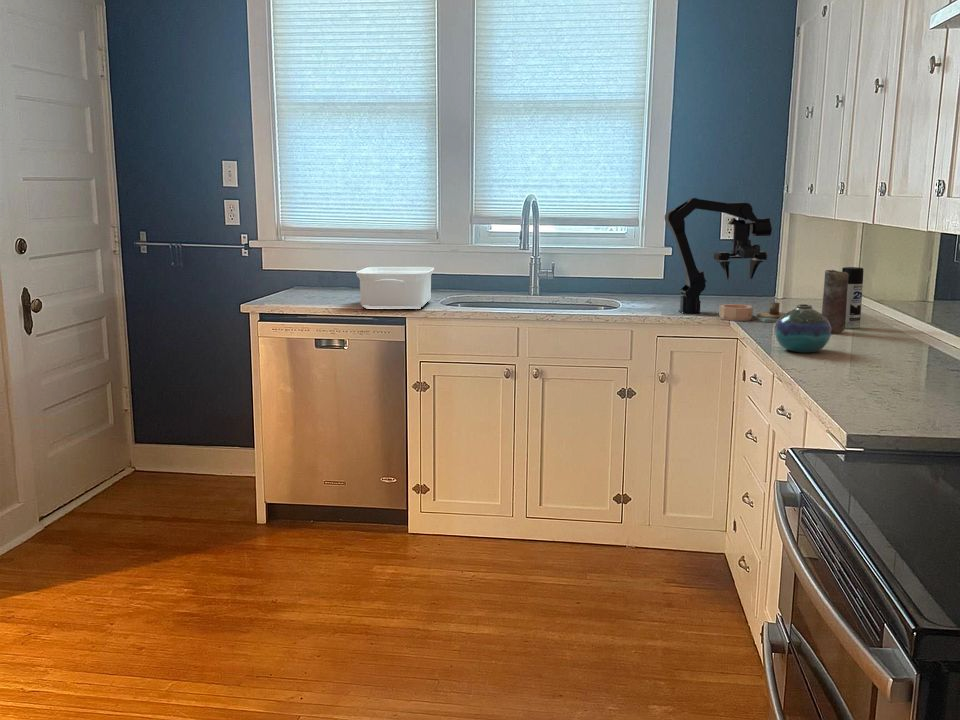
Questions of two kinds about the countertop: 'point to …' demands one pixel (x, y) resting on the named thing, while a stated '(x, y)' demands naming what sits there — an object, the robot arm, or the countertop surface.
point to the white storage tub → (395, 286)
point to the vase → (803, 330)
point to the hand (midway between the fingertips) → (739, 279)
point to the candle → (835, 299)
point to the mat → (763, 319)
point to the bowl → (735, 312)
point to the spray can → (854, 297)
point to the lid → (772, 312)
